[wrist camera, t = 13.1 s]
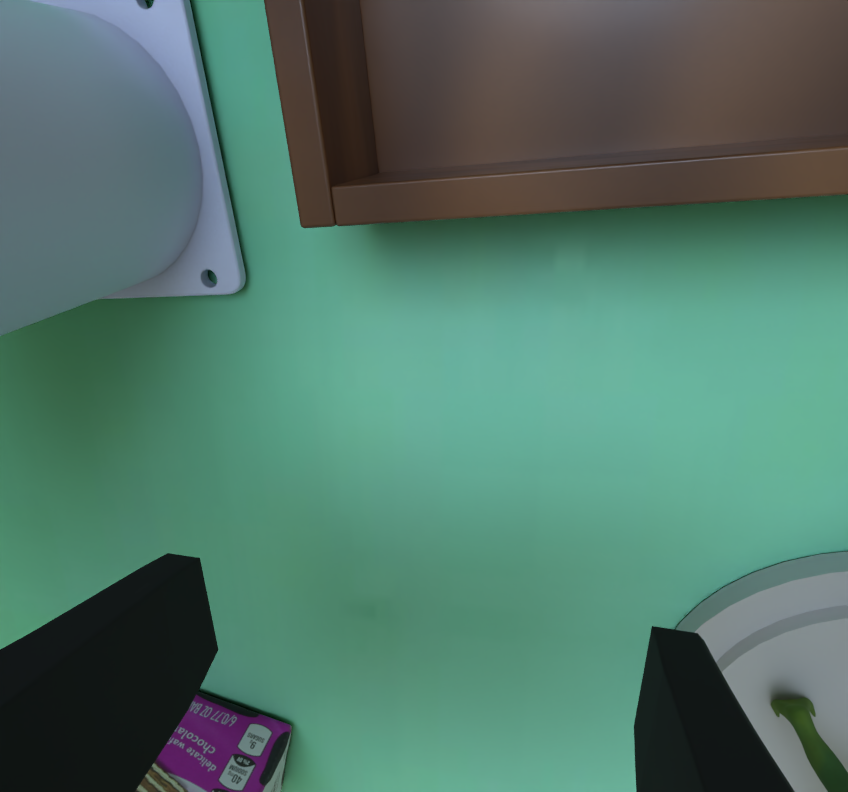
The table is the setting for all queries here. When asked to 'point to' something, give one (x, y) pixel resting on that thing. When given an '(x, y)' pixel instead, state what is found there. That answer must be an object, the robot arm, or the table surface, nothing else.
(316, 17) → the bin
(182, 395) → the table surface
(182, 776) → the candy bar box
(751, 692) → the monster figurine
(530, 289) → the table surface
